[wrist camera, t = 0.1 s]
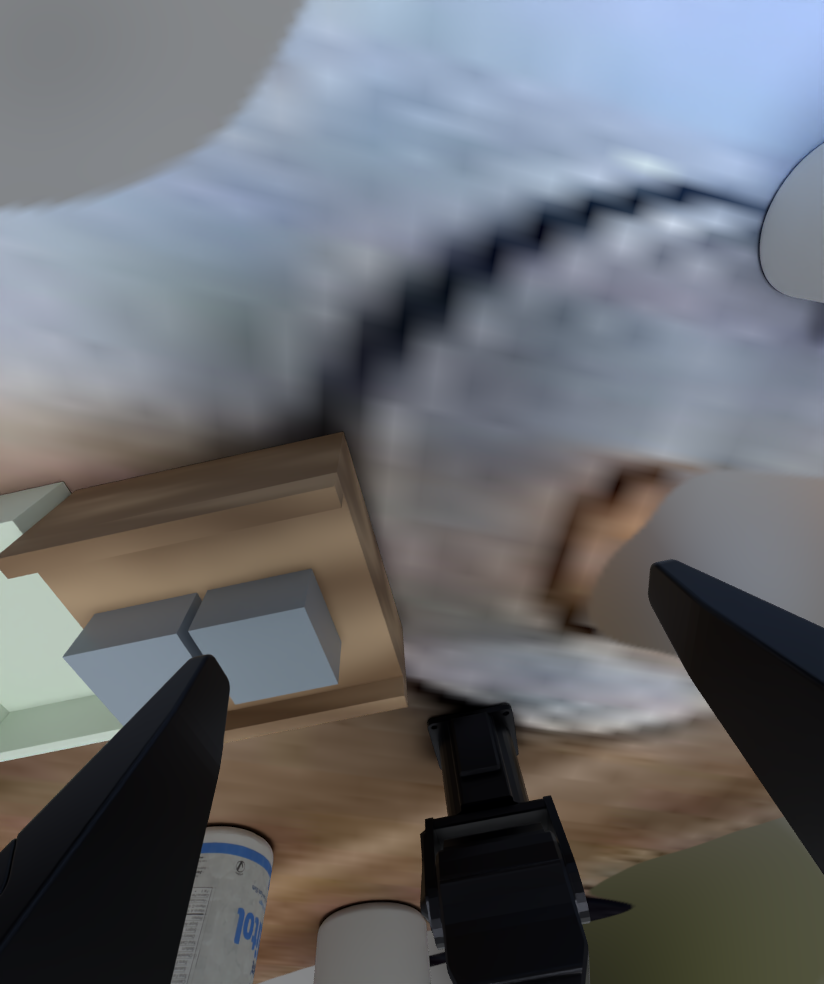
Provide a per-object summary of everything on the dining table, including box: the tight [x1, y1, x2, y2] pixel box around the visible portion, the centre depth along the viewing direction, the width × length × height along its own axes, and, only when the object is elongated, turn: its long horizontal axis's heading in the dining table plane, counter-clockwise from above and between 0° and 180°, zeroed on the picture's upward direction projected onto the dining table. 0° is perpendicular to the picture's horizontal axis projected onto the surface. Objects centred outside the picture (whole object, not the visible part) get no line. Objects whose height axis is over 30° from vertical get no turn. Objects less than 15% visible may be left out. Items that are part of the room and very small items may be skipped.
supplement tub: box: [171, 826, 273, 984], centre depth 35 cm, size 10×10×15 cm
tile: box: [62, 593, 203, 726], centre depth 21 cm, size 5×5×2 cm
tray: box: [0, 482, 123, 762], centre depth 25 cm, size 15×13×4 cm
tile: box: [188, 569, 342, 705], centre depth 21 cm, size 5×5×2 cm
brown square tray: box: [0, 432, 408, 743], centre depth 23 cm, size 14×14×6 cm
